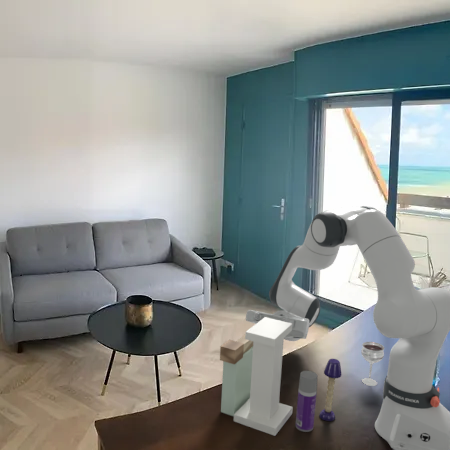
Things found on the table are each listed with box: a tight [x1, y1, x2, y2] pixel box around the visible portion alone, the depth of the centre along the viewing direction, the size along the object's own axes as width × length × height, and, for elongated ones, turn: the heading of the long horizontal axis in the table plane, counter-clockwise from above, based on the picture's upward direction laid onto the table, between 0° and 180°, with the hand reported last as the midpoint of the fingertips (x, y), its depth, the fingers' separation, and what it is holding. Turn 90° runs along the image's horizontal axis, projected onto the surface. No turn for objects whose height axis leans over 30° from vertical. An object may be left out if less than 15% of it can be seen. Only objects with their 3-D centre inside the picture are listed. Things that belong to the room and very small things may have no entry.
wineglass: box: [361, 341, 385, 387], centre depth 161 cm, size 7×7×12 cm
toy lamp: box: [318, 358, 342, 422], centre depth 141 cm, size 5×5×17 cm
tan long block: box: [219, 334, 253, 365], centre depth 145 cm, size 4×19×4 cm, turn 152°
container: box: [295, 370, 319, 433], centre depth 136 cm, size 5×5×15 cm
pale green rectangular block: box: [220, 346, 253, 417], centre depth 145 cm, size 4×12×16 cm, turn 152°
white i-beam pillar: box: [233, 317, 294, 436], centre depth 138 cm, size 12×12×26 cm
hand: (270, 318), depth 159 cm, fingers open, 8 cm apart
